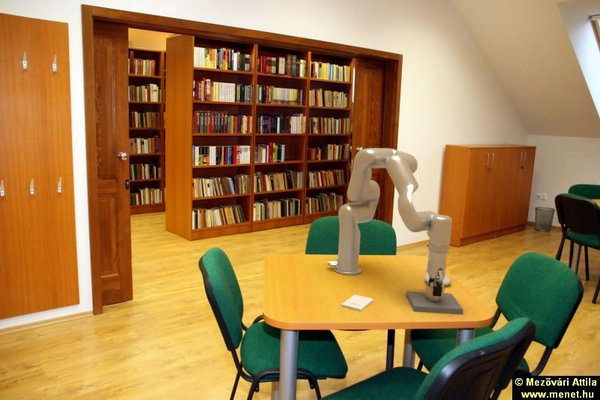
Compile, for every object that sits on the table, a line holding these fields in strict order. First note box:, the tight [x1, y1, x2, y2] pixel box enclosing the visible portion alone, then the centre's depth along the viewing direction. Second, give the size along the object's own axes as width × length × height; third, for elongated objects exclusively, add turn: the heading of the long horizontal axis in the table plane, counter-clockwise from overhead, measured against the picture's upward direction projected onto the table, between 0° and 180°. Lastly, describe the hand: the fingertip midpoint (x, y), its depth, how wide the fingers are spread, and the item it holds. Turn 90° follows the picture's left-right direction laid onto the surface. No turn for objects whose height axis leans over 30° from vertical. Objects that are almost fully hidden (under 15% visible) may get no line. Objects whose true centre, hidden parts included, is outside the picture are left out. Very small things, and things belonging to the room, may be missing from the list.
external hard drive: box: [340, 294, 374, 312], centre depth 186 cm, size 2×8×12 cm
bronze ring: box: [424, 282, 446, 299], centre depth 188 cm, size 7×7×4 cm
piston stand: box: [405, 282, 464, 315], centre depth 188 cm, size 18×16×8 cm
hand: (434, 292), depth 188 cm, fingers closed on bronze ring, 6 cm apart
